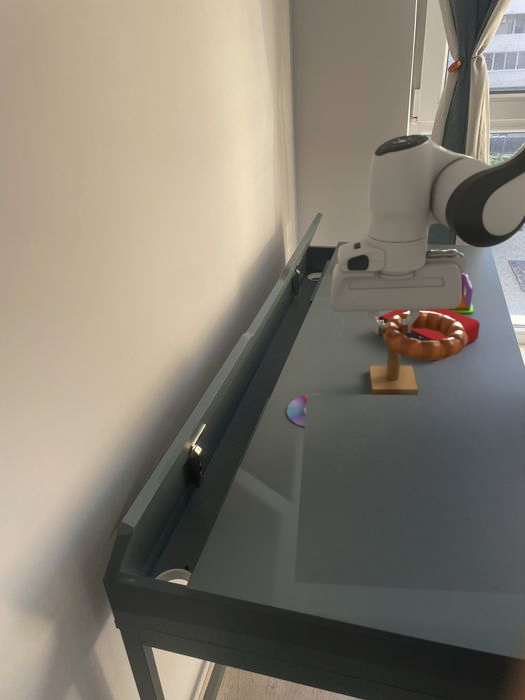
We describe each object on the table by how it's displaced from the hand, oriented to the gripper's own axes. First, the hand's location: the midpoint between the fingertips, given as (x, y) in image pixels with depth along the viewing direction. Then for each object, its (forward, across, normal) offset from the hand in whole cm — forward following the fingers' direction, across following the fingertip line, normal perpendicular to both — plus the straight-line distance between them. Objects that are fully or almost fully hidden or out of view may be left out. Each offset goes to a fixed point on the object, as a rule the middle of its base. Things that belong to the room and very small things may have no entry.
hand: (392, 331), depth 87 cm
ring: (0, -5, 0) cm, 5 cm away
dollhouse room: (+21, -21, -54) cm, 62 cm away
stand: (+21, -3, -16) cm, 27 cm away
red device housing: (+21, -13, -36) cm, 44 cm away
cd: (+21, +13, -6) cm, 26 cm away
